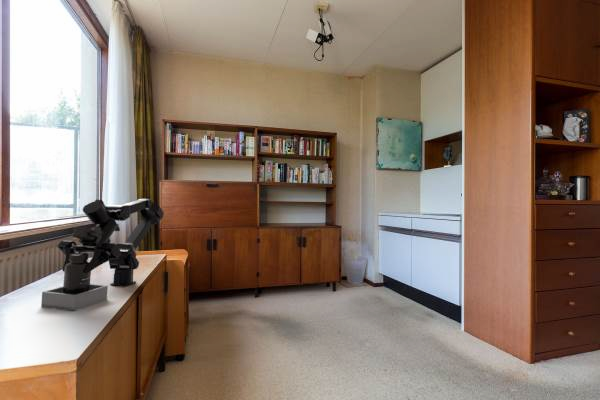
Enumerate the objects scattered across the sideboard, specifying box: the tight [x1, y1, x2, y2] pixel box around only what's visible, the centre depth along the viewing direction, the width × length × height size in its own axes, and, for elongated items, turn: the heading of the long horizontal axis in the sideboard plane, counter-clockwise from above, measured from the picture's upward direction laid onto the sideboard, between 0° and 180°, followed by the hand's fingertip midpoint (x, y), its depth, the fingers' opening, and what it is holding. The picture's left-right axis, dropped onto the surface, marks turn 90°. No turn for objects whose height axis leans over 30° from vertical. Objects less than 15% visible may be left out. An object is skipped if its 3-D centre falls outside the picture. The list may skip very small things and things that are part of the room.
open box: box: [40, 283, 108, 312], centre depth 94 cm, size 12×12×4 cm
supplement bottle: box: [62, 252, 92, 295], centre depth 95 cm, size 7×7×12 cm
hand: (74, 272), depth 93 cm, fingers closed on supplement bottle, 7 cm apart
